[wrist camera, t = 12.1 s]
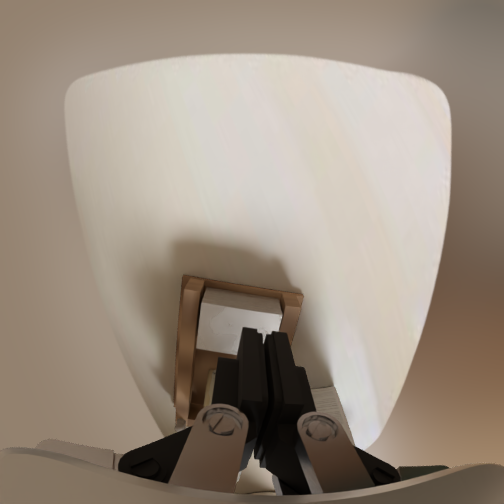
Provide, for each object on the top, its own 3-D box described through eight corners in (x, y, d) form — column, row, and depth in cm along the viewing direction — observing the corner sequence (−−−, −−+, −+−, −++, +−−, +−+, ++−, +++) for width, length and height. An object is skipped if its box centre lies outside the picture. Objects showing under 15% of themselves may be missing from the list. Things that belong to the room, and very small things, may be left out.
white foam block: (268, 339, 31) (271, 359, 27) (201, 329, 30) (196, 348, 26) (278, 298, 29) (282, 315, 26) (206, 286, 29) (201, 302, 25)
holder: (266, 417, 35) (268, 444, 30) (174, 404, 34) (167, 430, 29) (302, 294, 30) (312, 316, 25) (183, 274, 29) (172, 293, 24)
